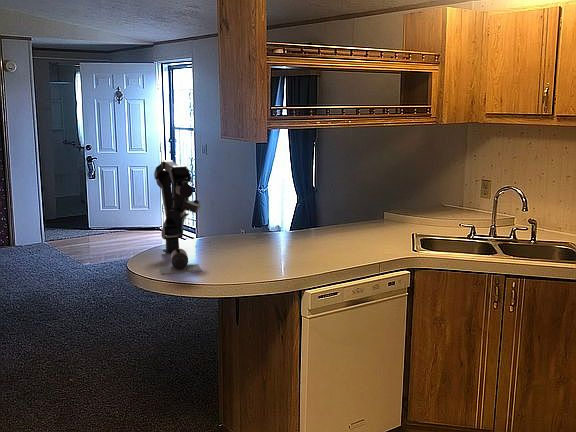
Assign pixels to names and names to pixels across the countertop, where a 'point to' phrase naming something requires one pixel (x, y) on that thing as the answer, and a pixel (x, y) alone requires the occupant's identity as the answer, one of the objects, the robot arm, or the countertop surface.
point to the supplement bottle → (179, 258)
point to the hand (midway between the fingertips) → (180, 230)
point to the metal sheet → (174, 270)
